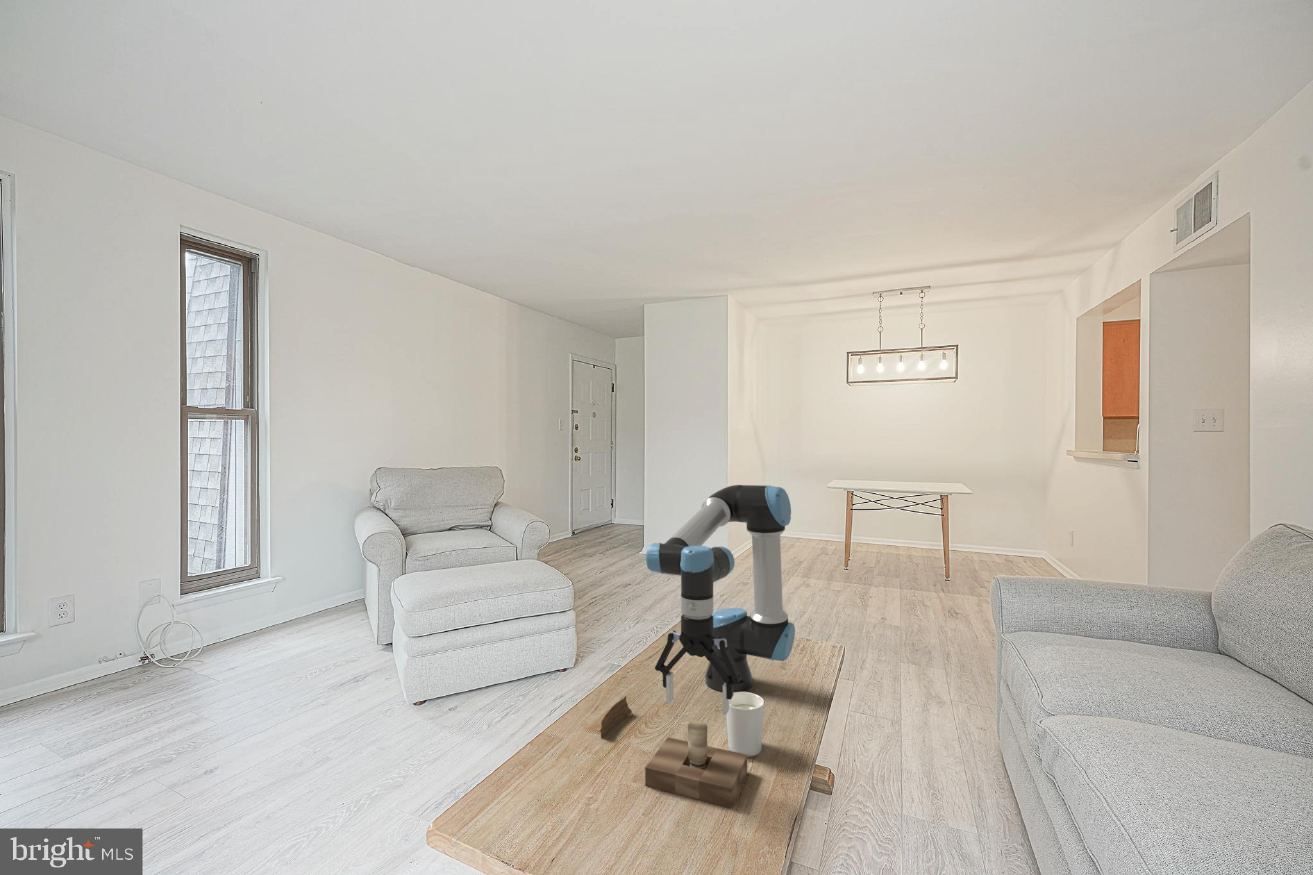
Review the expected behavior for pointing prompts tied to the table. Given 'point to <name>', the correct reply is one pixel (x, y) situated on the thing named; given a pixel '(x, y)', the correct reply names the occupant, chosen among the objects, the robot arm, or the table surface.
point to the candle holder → (745, 723)
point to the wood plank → (615, 715)
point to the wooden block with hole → (697, 773)
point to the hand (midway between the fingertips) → (697, 706)
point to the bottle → (697, 744)
